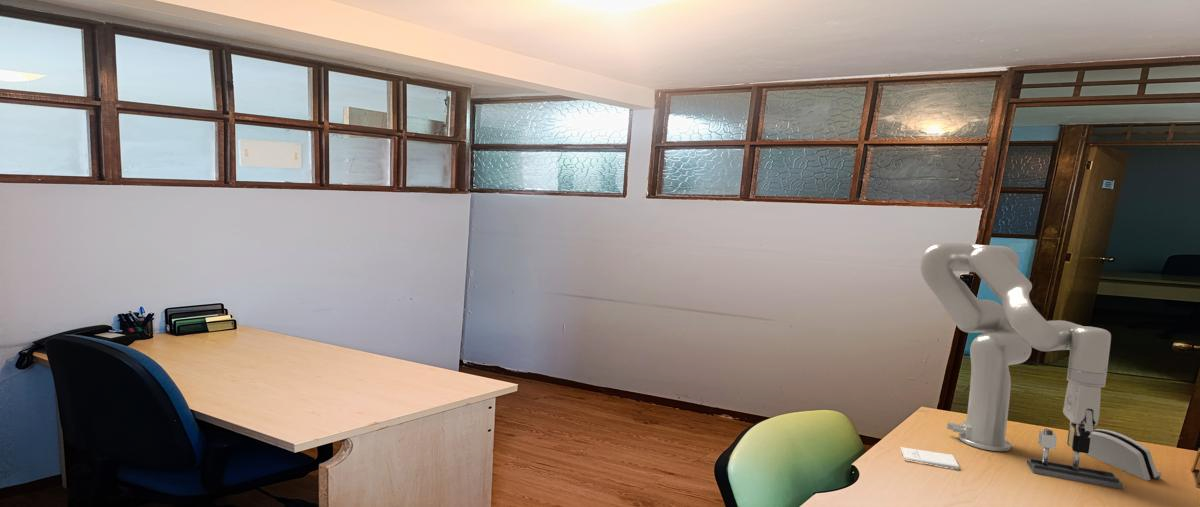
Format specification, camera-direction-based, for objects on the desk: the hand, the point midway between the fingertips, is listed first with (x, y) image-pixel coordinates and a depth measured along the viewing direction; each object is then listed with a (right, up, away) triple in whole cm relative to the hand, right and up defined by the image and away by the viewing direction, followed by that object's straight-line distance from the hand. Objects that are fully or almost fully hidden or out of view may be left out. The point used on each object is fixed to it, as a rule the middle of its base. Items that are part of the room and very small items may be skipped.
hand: (1077, 448), depth 154 cm
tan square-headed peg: (0, -5, 0) cm, 5 cm away
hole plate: (-1, -7, +1) cm, 7 cm away
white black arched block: (+17, -8, +8) cm, 20 cm away
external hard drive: (-34, -6, +6) cm, 35 cm away
